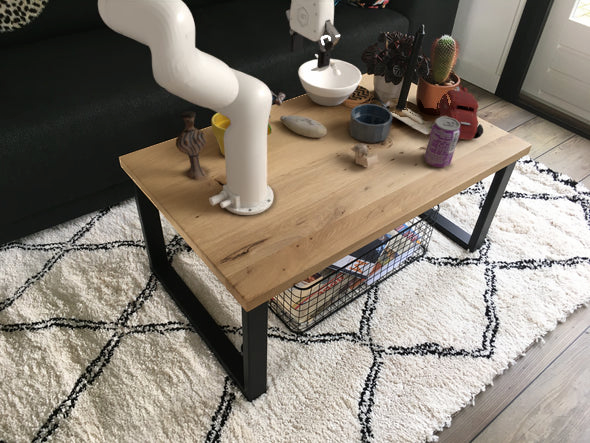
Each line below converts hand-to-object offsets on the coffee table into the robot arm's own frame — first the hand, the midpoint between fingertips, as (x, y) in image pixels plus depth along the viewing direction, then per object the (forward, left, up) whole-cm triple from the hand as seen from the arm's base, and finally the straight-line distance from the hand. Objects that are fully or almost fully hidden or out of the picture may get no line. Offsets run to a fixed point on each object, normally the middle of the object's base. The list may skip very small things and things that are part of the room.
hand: (309, 58), depth 117 cm
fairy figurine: (+24, +16, -19) cm, 34 cm away
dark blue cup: (+23, -2, -28) cm, 36 cm away
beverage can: (+28, -23, -28) cm, 46 cm away
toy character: (+11, -11, -28) cm, 32 cm away
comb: (+32, -8, -25) cm, 42 cm away
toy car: (+47, -12, -28) cm, 56 cm away
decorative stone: (+8, +10, -28) cm, 31 cm away
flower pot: (-14, +13, -28) cm, 34 cm away
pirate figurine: (-9, +15, -23) cm, 29 cm away
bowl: (+27, +20, -28) cm, 43 cm away
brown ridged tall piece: (-27, +11, -28) cm, 40 cm away
